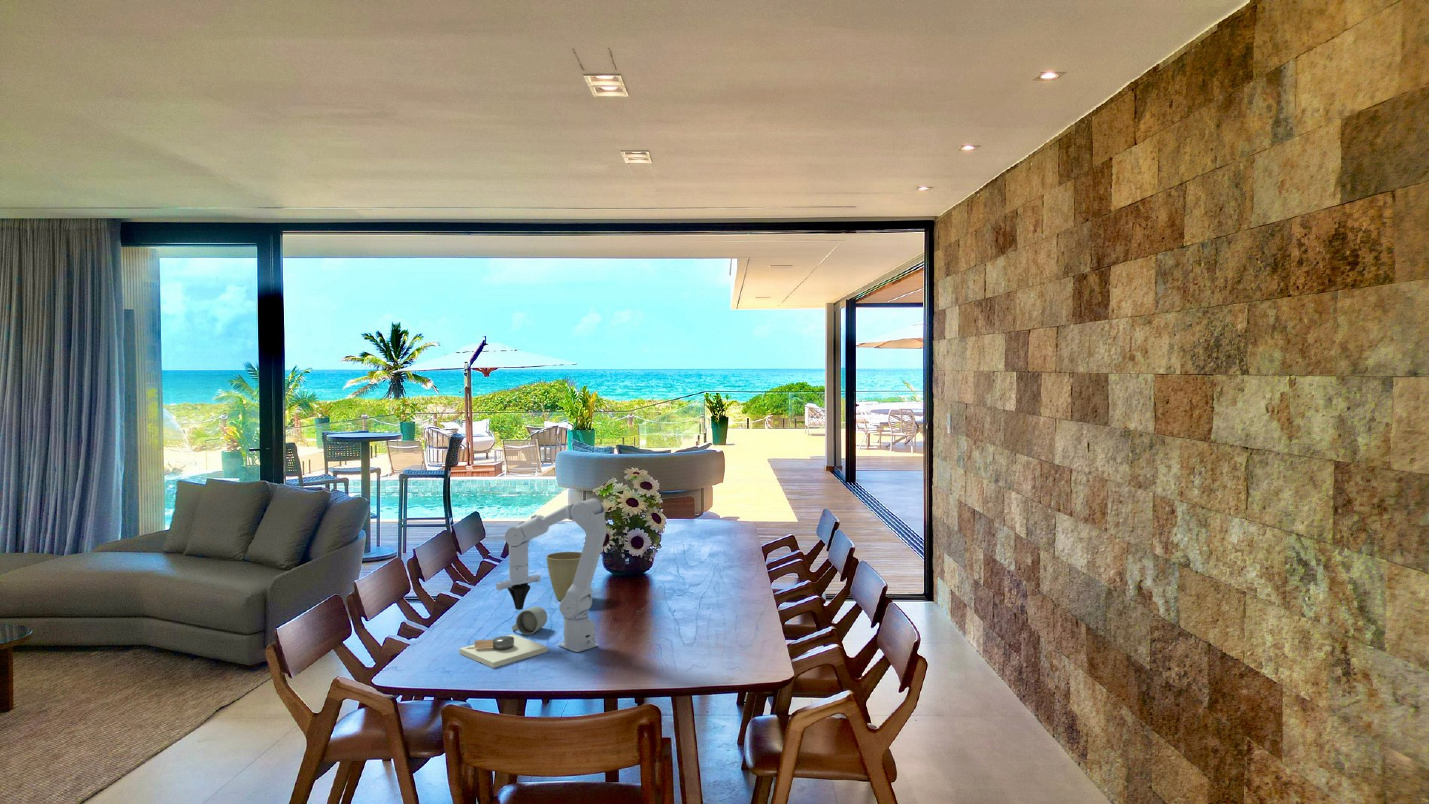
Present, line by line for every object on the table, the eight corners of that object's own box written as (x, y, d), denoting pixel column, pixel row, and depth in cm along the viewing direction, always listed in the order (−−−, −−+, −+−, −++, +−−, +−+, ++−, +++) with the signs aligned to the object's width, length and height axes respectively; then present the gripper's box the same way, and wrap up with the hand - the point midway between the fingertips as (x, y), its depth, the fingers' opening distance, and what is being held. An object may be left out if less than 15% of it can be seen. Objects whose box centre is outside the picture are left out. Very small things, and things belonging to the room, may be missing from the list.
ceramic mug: (549, 627, 250) (548, 604, 250) (537, 635, 242) (537, 611, 242) (518, 626, 253) (518, 603, 253) (506, 634, 245) (506, 609, 245)
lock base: (547, 651, 227) (547, 646, 227) (493, 668, 214) (492, 662, 214) (512, 638, 239) (512, 633, 239) (459, 653, 226) (459, 648, 226)
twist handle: (515, 642, 230) (514, 635, 230) (513, 648, 224) (512, 641, 224) (476, 644, 228) (476, 637, 228) (473, 651, 222) (473, 644, 222)
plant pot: (583, 603, 279) (583, 559, 278) (542, 603, 279) (541, 559, 279) (591, 593, 294) (590, 551, 293) (551, 593, 294) (551, 551, 294)
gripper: (531, 559, 246) (531, 601, 247) (490, 566, 236) (491, 611, 236) (544, 562, 242) (544, 605, 242) (503, 570, 231) (503, 615, 231)
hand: (519, 609), depth 238 cm, fingers closed
